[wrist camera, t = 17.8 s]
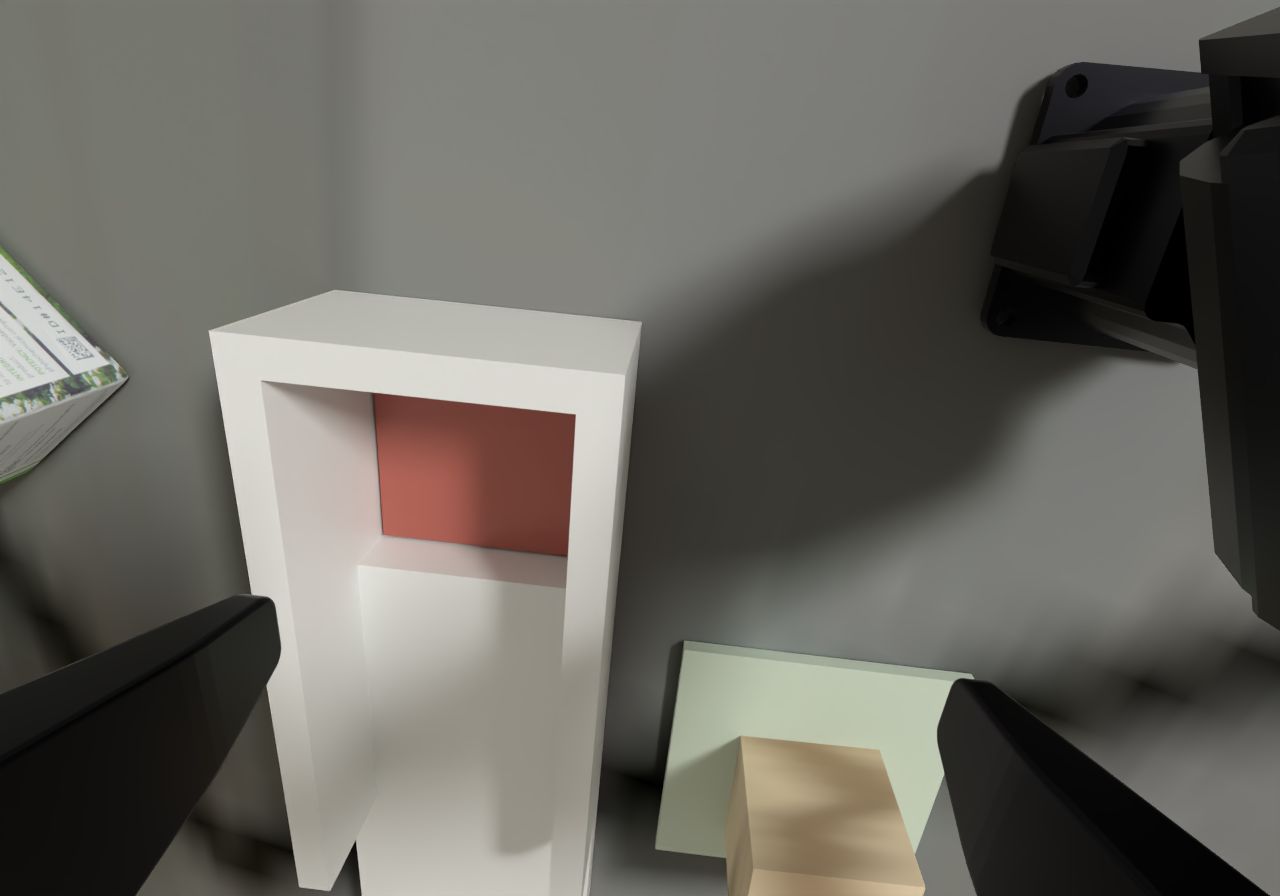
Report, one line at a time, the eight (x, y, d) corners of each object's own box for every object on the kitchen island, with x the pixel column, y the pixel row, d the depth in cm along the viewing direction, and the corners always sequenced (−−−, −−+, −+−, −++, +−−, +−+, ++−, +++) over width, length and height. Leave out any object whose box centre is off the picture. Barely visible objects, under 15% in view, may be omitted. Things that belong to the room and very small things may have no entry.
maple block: (879, 749, 24) (925, 887, 19) (853, 845, 26) (889, 991, 21) (740, 735, 24) (753, 868, 19) (724, 831, 26) (733, 973, 21)
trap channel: (641, 321, 19) (625, 374, 14) (586, 924, 29) (565, 1080, 24) (334, 289, 19) (208, 330, 14) (387, 898, 30) (325, 1047, 25)
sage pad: (971, 673, 23) (977, 684, 22) (901, 868, 27) (905, 880, 26) (683, 640, 23) (683, 649, 23) (655, 837, 27) (655, 849, 27)
